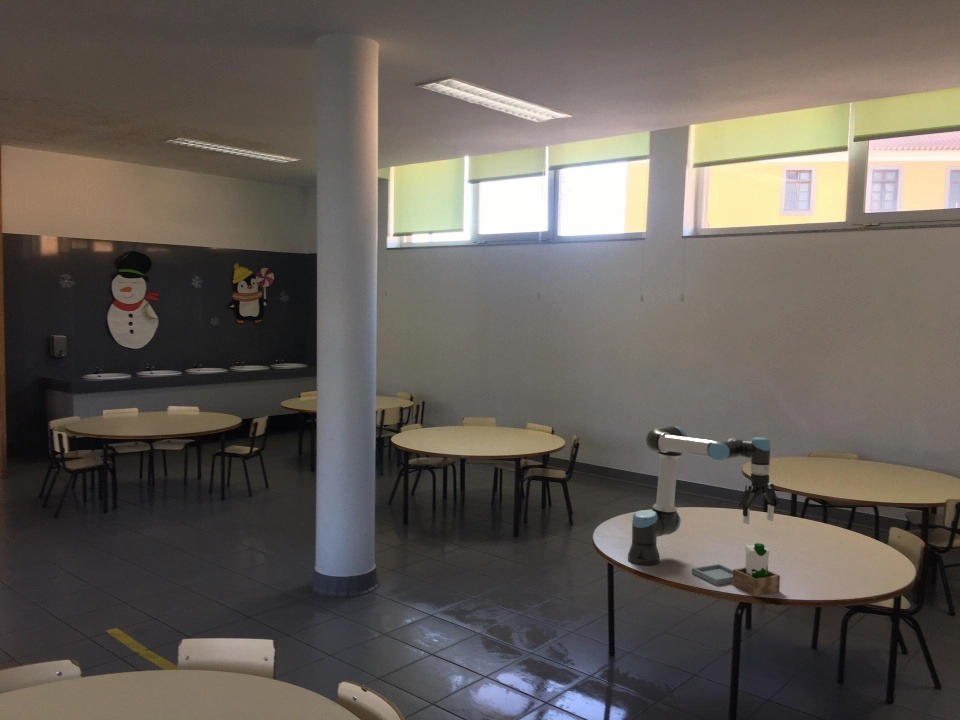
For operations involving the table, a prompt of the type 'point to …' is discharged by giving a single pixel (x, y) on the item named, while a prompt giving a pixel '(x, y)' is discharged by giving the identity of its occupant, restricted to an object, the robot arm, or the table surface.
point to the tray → (714, 574)
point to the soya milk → (756, 560)
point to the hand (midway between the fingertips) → (758, 521)
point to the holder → (756, 582)
